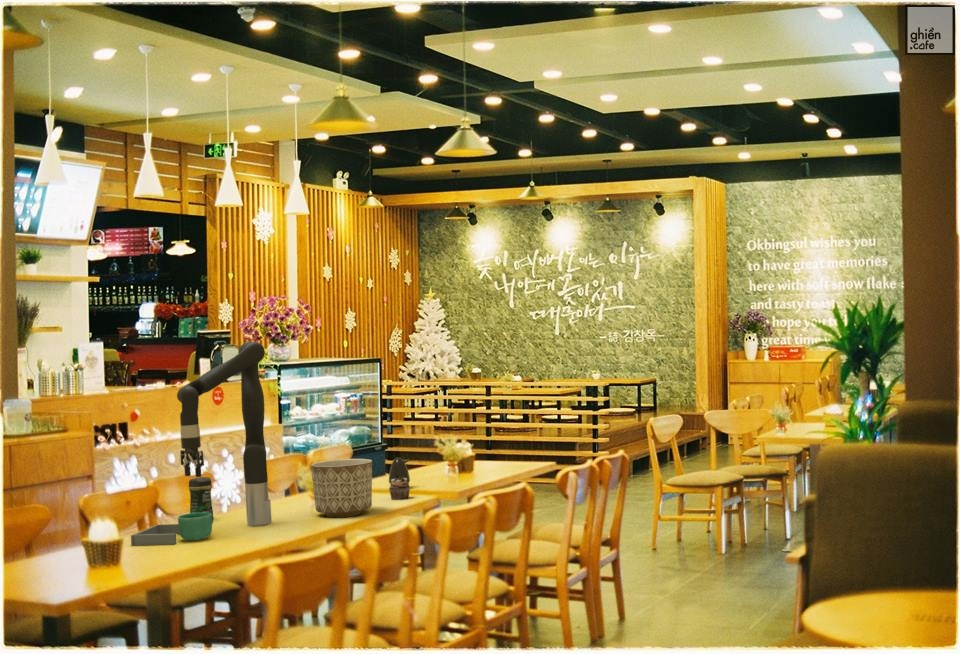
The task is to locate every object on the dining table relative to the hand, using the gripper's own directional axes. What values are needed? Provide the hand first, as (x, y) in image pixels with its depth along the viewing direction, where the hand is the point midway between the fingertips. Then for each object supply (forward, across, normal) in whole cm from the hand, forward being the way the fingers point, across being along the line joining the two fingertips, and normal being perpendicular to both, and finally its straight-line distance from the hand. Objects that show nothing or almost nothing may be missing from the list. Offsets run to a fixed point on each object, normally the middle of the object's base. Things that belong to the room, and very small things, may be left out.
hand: (193, 476), depth 462 cm
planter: (+24, -18, -60) cm, 67 cm away
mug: (+23, -13, +6) cm, 27 cm away
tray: (+22, -2, +15) cm, 27 cm away
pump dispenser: (+24, +20, -122) cm, 125 cm away
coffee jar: (+23, +26, -17) cm, 39 cm away
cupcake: (+24, -6, -100) cm, 104 cm away
